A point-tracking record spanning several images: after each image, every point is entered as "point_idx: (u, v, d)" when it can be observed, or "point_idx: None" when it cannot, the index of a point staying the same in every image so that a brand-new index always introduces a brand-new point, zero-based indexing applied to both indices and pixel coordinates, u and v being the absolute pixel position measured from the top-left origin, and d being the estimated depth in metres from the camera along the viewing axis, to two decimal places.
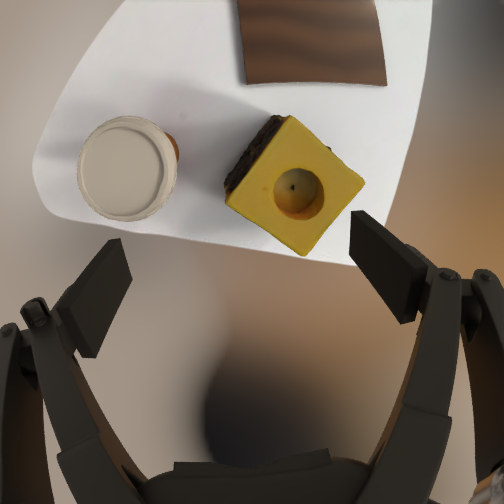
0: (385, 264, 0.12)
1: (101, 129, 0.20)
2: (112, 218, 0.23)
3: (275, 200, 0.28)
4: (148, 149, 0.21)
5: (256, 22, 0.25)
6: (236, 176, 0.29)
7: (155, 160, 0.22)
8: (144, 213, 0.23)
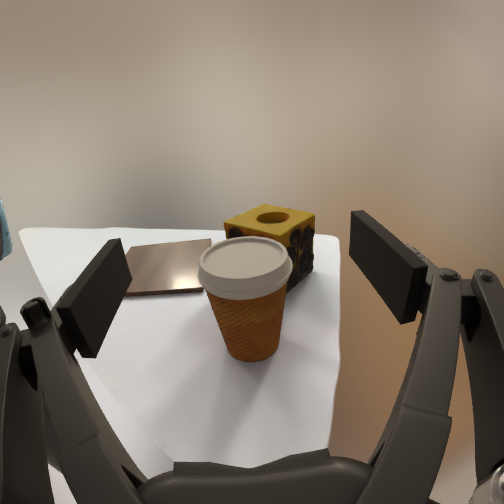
0: (385, 264, 0.12)
1: (201, 263, 0.27)
2: (284, 259, 0.27)
3: None
4: (229, 246, 0.31)
5: (155, 284, 0.45)
6: None
7: (239, 243, 0.31)
8: (280, 244, 0.30)
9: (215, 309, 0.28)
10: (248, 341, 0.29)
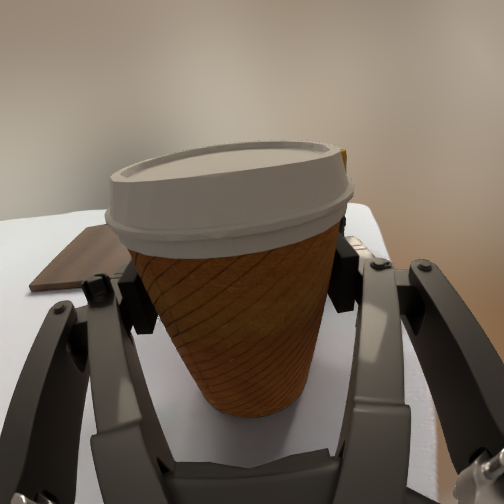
0: None
1: (115, 174, 0.09)
2: (336, 150, 0.09)
3: None
4: (196, 157, 0.13)
5: (99, 270, 0.27)
6: None
7: (218, 153, 0.13)
8: (313, 142, 0.12)
9: (152, 299, 0.10)
10: (242, 381, 0.11)
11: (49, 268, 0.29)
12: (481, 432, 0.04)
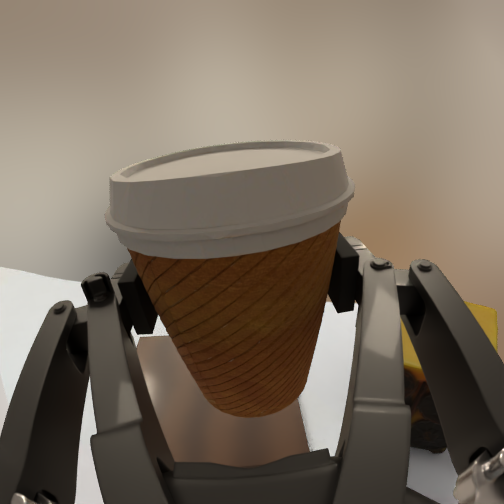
0: None
1: (116, 174, 0.09)
2: (336, 150, 0.09)
3: None
4: (196, 157, 0.13)
5: (212, 450, 0.20)
6: None
7: (218, 153, 0.13)
8: (313, 142, 0.12)
9: (152, 299, 0.10)
10: (242, 382, 0.11)
11: None
12: (481, 432, 0.04)
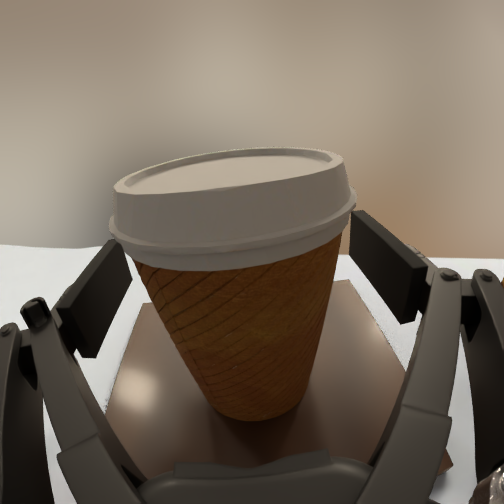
0: (385, 264, 0.12)
1: (119, 183, 0.10)
2: (339, 160, 0.09)
3: None
4: (199, 164, 0.13)
5: None
6: None
7: (220, 160, 0.14)
8: (315, 149, 0.12)
9: (156, 307, 0.10)
10: (245, 387, 0.11)
11: None
12: None
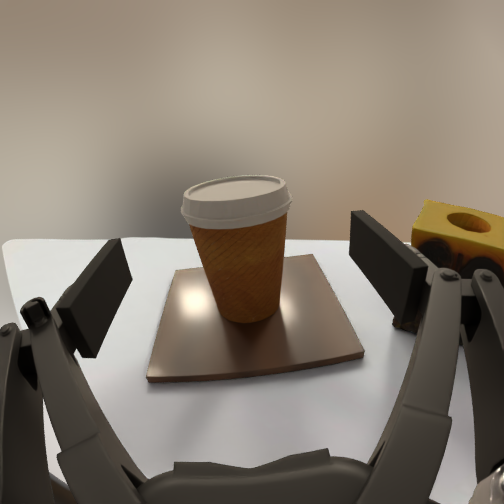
0: (385, 264, 0.12)
1: (186, 195, 0.23)
2: (282, 185, 0.22)
3: None
4: (219, 184, 0.26)
5: (264, 352, 0.23)
6: None
7: (230, 182, 0.27)
8: (277, 177, 0.25)
9: (202, 251, 0.24)
10: (242, 293, 0.24)
11: (164, 344, 0.24)
12: None
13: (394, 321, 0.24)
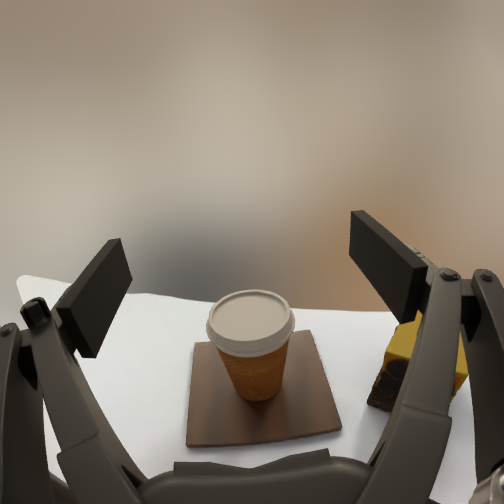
0: (385, 264, 0.12)
1: (210, 322, 0.29)
2: (287, 317, 0.28)
3: None
4: (235, 301, 0.32)
5: (270, 426, 0.29)
6: None
7: (244, 298, 0.33)
8: (283, 299, 0.31)
9: (224, 361, 0.30)
10: (255, 386, 0.30)
11: (195, 417, 0.30)
12: None
13: (368, 401, 0.30)
